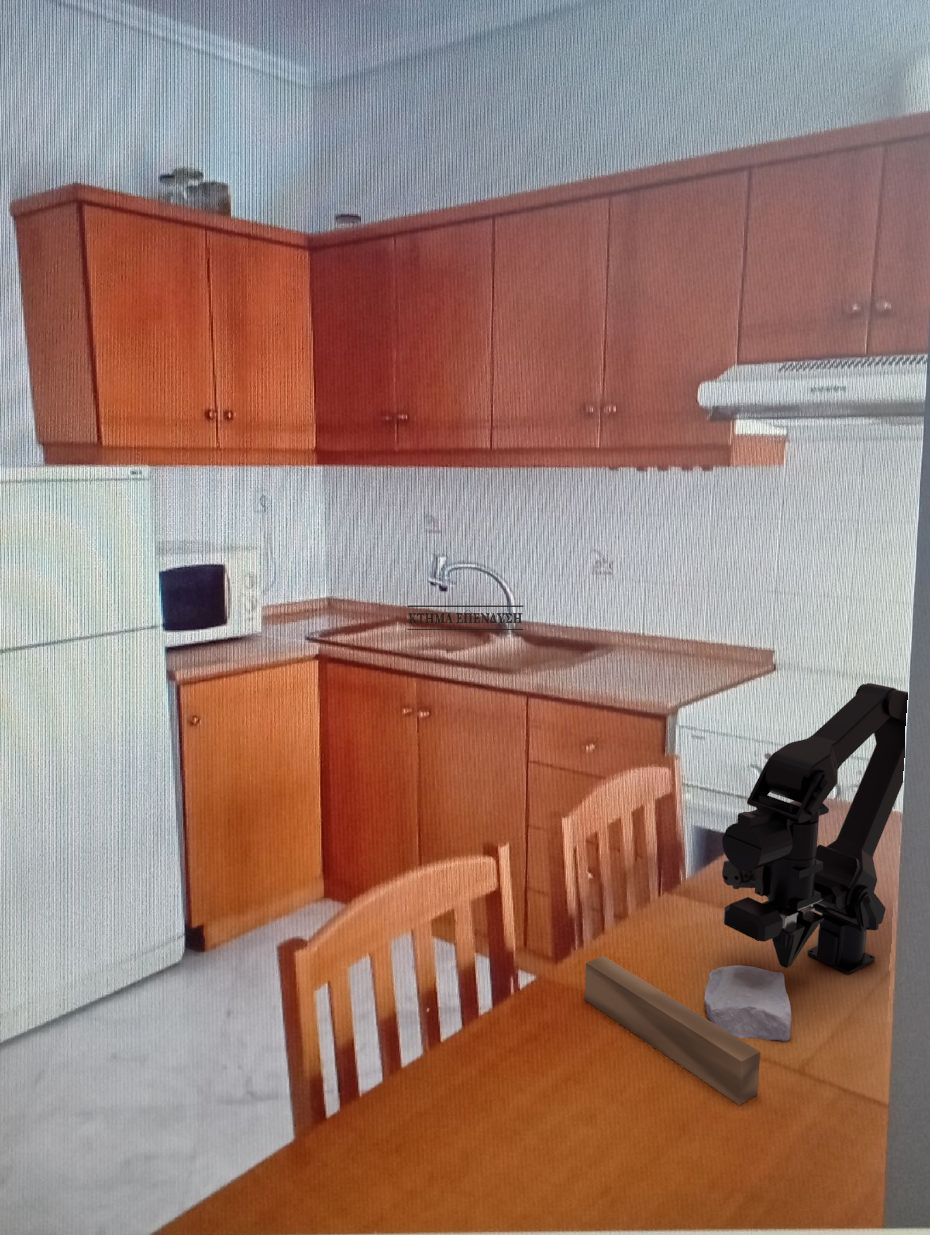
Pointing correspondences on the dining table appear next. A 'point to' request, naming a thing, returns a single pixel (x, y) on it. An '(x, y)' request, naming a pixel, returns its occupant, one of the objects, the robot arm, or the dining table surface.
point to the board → (674, 1029)
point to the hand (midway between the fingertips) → (785, 966)
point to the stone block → (749, 1002)
